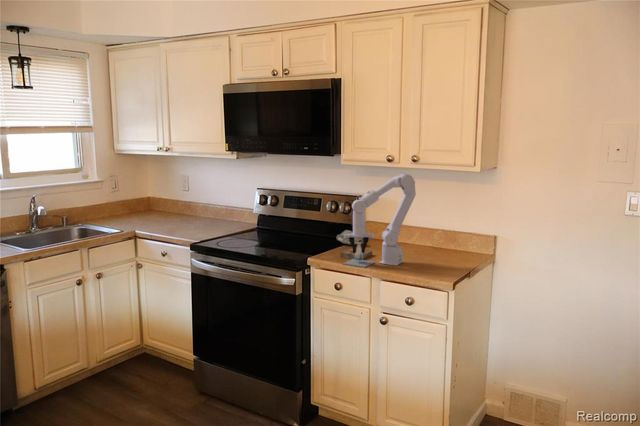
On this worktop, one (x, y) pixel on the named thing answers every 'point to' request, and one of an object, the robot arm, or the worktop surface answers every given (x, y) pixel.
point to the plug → (358, 251)
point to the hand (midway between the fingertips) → (358, 252)
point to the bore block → (351, 255)
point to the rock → (346, 241)
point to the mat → (359, 263)
